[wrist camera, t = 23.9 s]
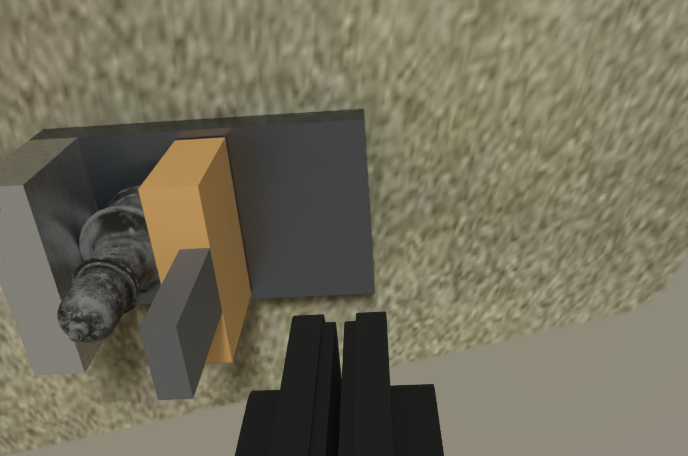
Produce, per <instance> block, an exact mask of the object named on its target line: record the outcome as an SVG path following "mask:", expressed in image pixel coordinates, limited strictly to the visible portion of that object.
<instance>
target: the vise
mask: <svg viewBox="0 0 688 456" xmlns="http://www.w3.org/2000/svg"><path fill="white" fill-rule="evenodd" d="M223 137H225V140H226V146H227V152H228V158H229V164H230V170H231V176H232V182H233V188H234V194H235V200H236V206H237V212H238V218H239V224H240V230H241V236H242V242H243V248H244V254H245V260H246V266H247V272H248V278H249V284H250V290H251V297H250V299H264V298H286V297H307V296H329V295H351V294H372V293H375V290H374V266H373V250H372V234H371V218H370V202H369V186H368V170H367V154H366V138H365V122H364V109H356V110H340V111H324V112H308V113H293V114H277V115H261V116H245V117H230V118H214V119H198V120H183V121H167V122H151V123H135V124H120V125H104V126H88V127H73V128H57V129H43V130H42V131H41V132H39V133H38V134H37V135H35V136H34V137H33V138H31V139H30V140H29V141H27V142H26V143H25V144H23V145H22V146H21V147H19V148H18V149H17V150H15V151H14V152H13V153H12V154H10V155H9V156H8V157H6V158H5V159H4V160H2V161H1V162H0V283H1V285H2V288H3V291H4V293H5V296H6V299H7V301H8V304H9V307H10V309H11V312H12V315H13V317H14V320H15V323H16V325H17V328H18V331H19V333H20V336H21V339H22V341H23V344H24V347H25V349H26V352H27V355H28V357H29V360H30V363H31V365H32V368H33V371H34V373H35V375H51V374H76V373H85V372H86V370H87V369H88V367H89V365H90V363H91V362H92V360H93V358H94V357H95V355H96V353H97V351H98V350H99V348H100V346H101V344H102V343H103V341H104V340H103V341H100V342H96V343H82V342H79V341H75V342H74V341H71V340H70V339H69V336H68V335H67V334H65V333H64V331H63V330H62V329H61V327H60V325H59V322H58V320H57V311H58V308H59V305H60V303H61V302H62V300H63V299H64V298H65V296H66V295H67V293H68V292H69V291H70V289H71V288H72V287H73V280H72V278H73V274H74V271H75V270H76V269H77V267H78V266H79V265H80V264H81V263H82V262H84V261H83V258H82V255H81V252H80V247H79V237H80V234H81V230H82V227H83V226H84V225H85V223H86V222H87V220H88V219H89V218H90V217H91V216H92V215H94V214H95V213H96V212H98V211H100V210H102V209H105V208H107V206H108V204H109V202H110V201H111V200H112V198H113V197H114V196H115V195H116V194H117V193H119V192H120V191H121V190H124V189H126V188H129V187H132V186H141V185H142V184H143V182H144V181H145V180H146V178H147V177H148V176H149V174H150V173H151V172H152V170H153V169H154V168H155V166H156V165H157V164H158V162H159V161H160V160H161V158H162V157H163V156H164V154H165V153H166V152H167V150H168V149H169V148H170V146H171V145H172V144H173V142H174V141H175V140H191V139H207V138H223ZM158 290H159V289H158ZM158 290H155V291H152V292H149V293H141V295H140V298H139V301H138V303H137V304H152V302H153V300H154V298H155V296H156V294H157V292H158Z"/></svg>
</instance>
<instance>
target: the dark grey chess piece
mask: <svg viewBox="0 0 688 456" xmlns="http://www.w3.org/2000/svg"><path fill="white" fill-rule="evenodd" d="M139 187H140V186H132V187H129V188H126V189H124V190H121V191H120V192H119V193H117V194H116V195H115V196H114V197H113V198H112V200H111V201H110V202H109V204H108V206H107V208H105V209H102V210H100V211H98V212H96V213H95V214H94V215H92V216H91V217H90V218H89V219H88V220H87V222H86V223H85V225H84V226H83V227H82V230H81V234H80V237H79V247H80V252H81V255H82V258H83V261H84V262H82V263H81V264H80V265H79V266H78V267H77V269H76V270H75V271H74V274H73V278H72V280H73V287H72V288H71V289H70V291H69V292H68V293H67V295H66V296H65V298H64V299H63V300H62V302H61V303H60V305H59V308H58V311H57V320H58V322H59V325H60V327H61V329H62V330H63V331H64V333H65V334H67V335H68V336H69V339H70V340H71V341H74V342H75V341H79V342H82V343H96V342H100V341H103V340H104V339H106V338H107V337H108V336H109V335H110V334H111V333H112V332H113V331H114V329H115V327H116V325H117V324H118V322H119V320H120V318H121V317H122V315H123V313H127V312H128V311H130V310H131V309H133V308H134V307H135V306H136V304H137V303H138V301H139V298H140V295H141V293H149V292H152V291H155V290H158V289H159V288H160V286H161V282H160V278H159V274H158V269H157V265H156V261H155V257H154V253H153V249H152V245H151V240H150V236H149V232H148V228H147V224H146V220H145V216H144V211H143V207H142V203H141V199H140V195H139V191H138V189H139Z"/></svg>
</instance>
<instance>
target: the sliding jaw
mask: <svg viewBox="0 0 688 456" xmlns="http://www.w3.org/2000/svg"><path fill="white" fill-rule="evenodd" d="M138 191H139V195H140V199H141V203H142V207H143V211H144V216H145V220H146V224H147V228H148V232H149V236H150V240H151V245H152V249H153V253H154V257H155V261H156V265H157V269H158V274H159V278H160V282H161V286H160V288H159V290H158V292H157V294H156V296H155V298H154V300H153V302H152V304H151V306H150V308H149V310H148V312H147V314H146V316H145V318H144V319H143V321H142V323H141V325H140V327H139V330H140V334H141V337H142V341H143V345H144V349H145V352H146V356H147V360H148V363H149V367H150V371H151V375H152V378H153V382H154V386H155V389H156V393H157V397H158V400H171V399H193V397H194V394H195V391H196V388H197V385H198V383H199V380H200V377H201V374H202V371H203V368H204V365H205V364H209V363H232V362H233V358H234V354H235V351H236V347H237V344H238V340H239V337H240V333H241V329H242V326H243V322H244V319H245V315H246V312H247V308H248V304H249V301H250V297H251V290H250V284H249V278H248V272H247V266H246V260H245V254H244V248H243V242H242V236H241V230H240V224H239V218H238V212H237V206H236V200H235V194H234V188H233V182H232V176H231V170H230V164H229V158H228V152H227V146H226V140H225V137H223V138H207V139H191V140H175V141H174V142H173V144H172V145H171V146H170V148H169V149H168V150H167V152H166V153H165V154H164V156H163V157H162V158H161V160H160V161H159V162H158V164H157V165H156V166H155V168H154V169H153V170H152V172H151V173H150V174H149V176H148V177H147V178H146V180H145V181H144V182H143V184H142V185H141V186H140V187H139V189H138Z"/></svg>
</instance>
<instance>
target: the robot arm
mask: <svg viewBox="0 0 688 456" xmlns="http://www.w3.org/2000/svg"><path fill="white" fill-rule="evenodd" d="M389 375H390V374H389V355H388V336H387V318H386V312H366V313H356V321H346V322H345V324H344V344H343V365H342V378H341V368H340V358H339V348H338V337H337V328H336V322H325V318H324V315H323V314H321V315H299V316H293V318H292V323H291V329H290V335H289V341H288V347H287V352H286V358H285V364H284V370H283V376H282V382H281V388H280V390H264V391H252V392H251V393H250V394H249V397H248V401H247V405H246V409H245V414H244V418H243V422H242V427H241V431H240V436H239V440H238V444H237V449H236V453H235V456H444V453H443V446H442V439H441V431H440V424H439V416H438V409H437V402H436V395H435V388H434V385H433V384H425V385H424V384H422V385H396V386H390V376H389Z"/></svg>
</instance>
